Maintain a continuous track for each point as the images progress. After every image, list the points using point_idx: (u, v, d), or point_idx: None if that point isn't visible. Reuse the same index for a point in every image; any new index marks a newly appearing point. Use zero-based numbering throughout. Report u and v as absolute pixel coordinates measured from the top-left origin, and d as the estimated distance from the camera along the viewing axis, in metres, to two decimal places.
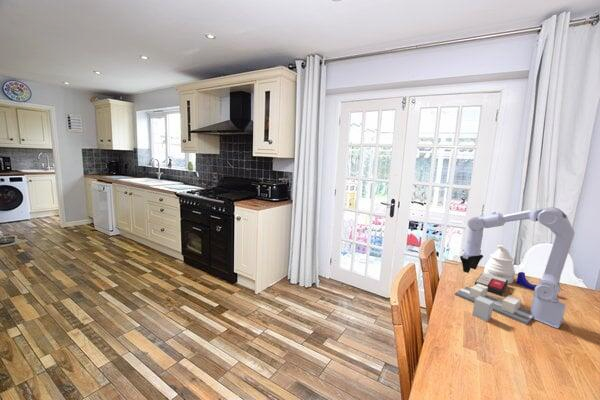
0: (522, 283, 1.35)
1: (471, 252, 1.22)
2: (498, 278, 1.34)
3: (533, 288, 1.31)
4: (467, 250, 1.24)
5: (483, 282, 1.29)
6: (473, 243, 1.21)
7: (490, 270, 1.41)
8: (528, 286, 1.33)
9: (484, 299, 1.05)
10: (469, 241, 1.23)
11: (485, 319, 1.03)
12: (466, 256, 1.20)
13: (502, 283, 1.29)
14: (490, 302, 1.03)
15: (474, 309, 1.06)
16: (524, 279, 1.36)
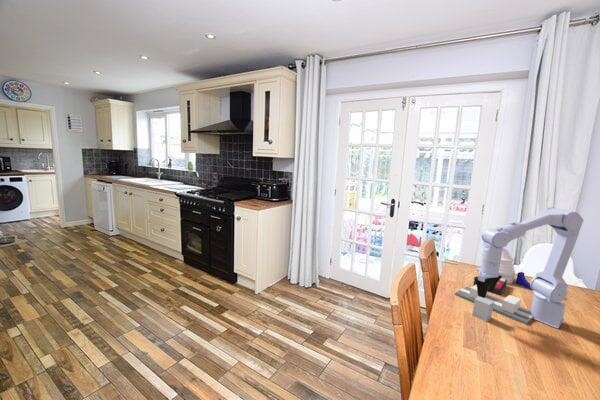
0: (522, 283, 1.35)
1: (488, 273, 1.01)
2: None
3: None
4: (483, 270, 1.02)
5: None
6: (490, 262, 1.00)
7: None
8: (528, 286, 1.33)
9: (484, 299, 1.05)
10: (493, 262, 1.00)
11: (485, 319, 1.03)
12: (482, 278, 0.98)
13: (501, 283, 1.29)
14: (490, 302, 1.03)
15: (474, 309, 1.06)
16: (524, 279, 1.36)
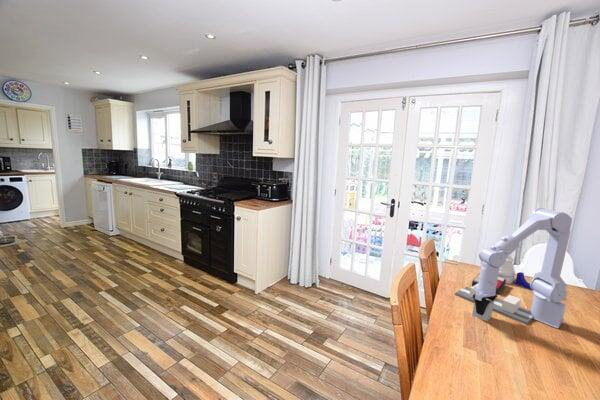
0: (521, 283, 1.35)
1: (485, 292, 1.02)
2: None
3: None
4: (480, 289, 1.03)
5: None
6: (487, 281, 1.01)
7: None
8: (527, 286, 1.33)
9: None
10: (490, 281, 1.01)
11: (485, 319, 1.03)
12: (479, 297, 1.00)
13: (500, 282, 1.30)
14: (490, 302, 1.03)
15: (474, 309, 1.06)
16: (523, 279, 1.35)
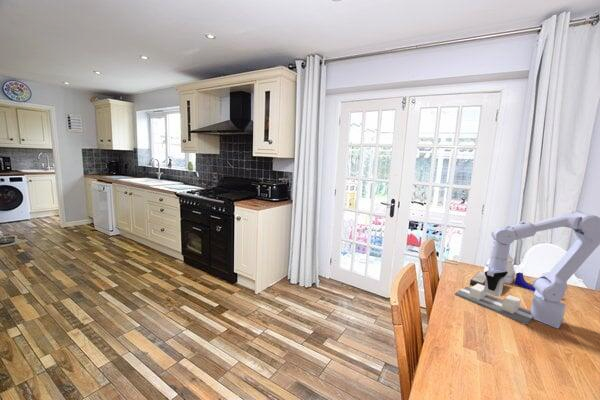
0: (520, 284, 1.35)
1: (496, 268, 1.08)
2: None
3: (532, 289, 1.31)
4: (491, 266, 1.09)
5: (478, 280, 1.32)
6: (499, 258, 1.07)
7: None
8: (526, 287, 1.32)
9: None
10: (498, 257, 1.07)
11: (496, 294, 1.09)
12: (491, 273, 1.05)
13: None
14: (501, 278, 1.09)
15: (485, 285, 1.11)
16: (522, 280, 1.35)
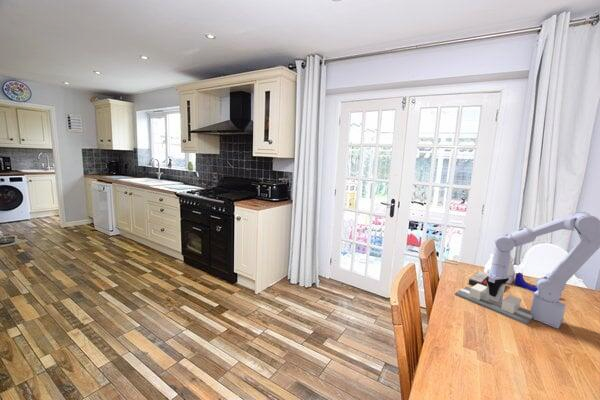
0: (520, 284, 1.34)
1: (497, 275, 1.11)
2: None
3: (531, 289, 1.30)
4: (493, 272, 1.13)
5: (477, 279, 1.32)
6: (500, 265, 1.10)
7: None
8: (526, 287, 1.32)
9: None
10: (497, 263, 1.11)
11: (497, 300, 1.12)
12: (492, 280, 1.09)
13: None
14: (502, 284, 1.13)
15: (487, 291, 1.15)
16: (522, 280, 1.35)
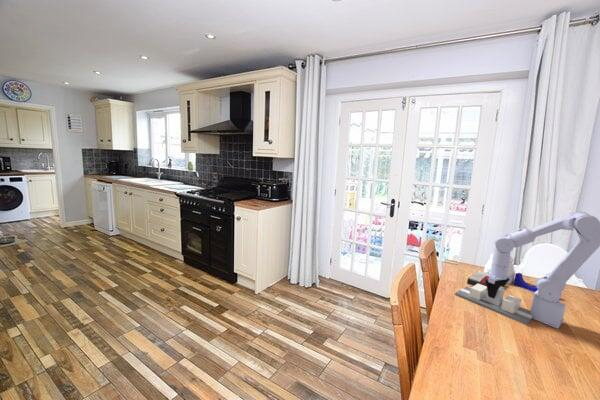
0: (520, 284, 1.34)
1: (497, 276, 1.11)
2: None
3: (531, 289, 1.30)
4: (492, 273, 1.13)
5: (476, 279, 1.33)
6: (500, 266, 1.10)
7: (490, 270, 1.41)
8: (526, 287, 1.32)
9: None
10: (497, 264, 1.11)
11: (497, 303, 1.12)
12: (492, 281, 1.09)
13: None
14: (501, 288, 1.13)
15: (486, 295, 1.15)
16: (522, 280, 1.34)
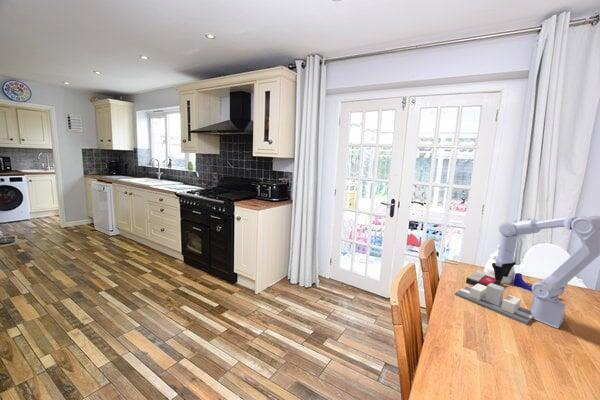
0: (519, 284, 1.34)
1: (504, 259, 1.16)
2: (491, 275, 1.37)
3: (530, 289, 1.30)
4: (499, 257, 1.18)
5: (474, 278, 1.34)
6: (506, 250, 1.16)
7: (490, 270, 1.41)
8: (525, 287, 1.32)
9: (495, 286, 1.15)
10: (500, 247, 1.18)
11: (497, 303, 1.12)
12: (500, 264, 1.14)
13: (494, 280, 1.32)
14: (501, 288, 1.13)
15: (486, 295, 1.15)
16: (521, 280, 1.34)
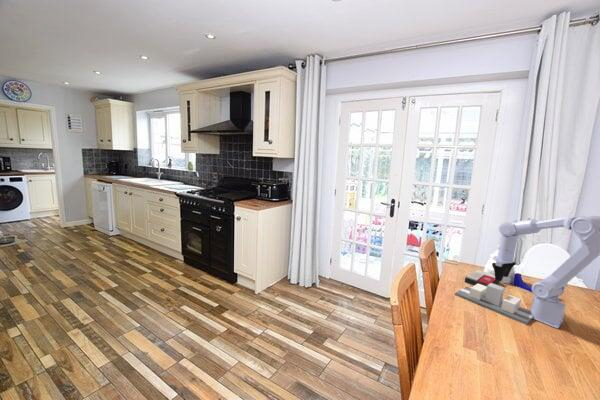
0: (519, 284, 1.34)
1: (504, 259, 1.17)
2: (490, 275, 1.38)
3: (530, 289, 1.29)
4: (499, 257, 1.18)
5: (473, 277, 1.34)
6: (506, 250, 1.16)
7: (490, 270, 1.41)
8: (525, 287, 1.31)
9: (495, 286, 1.15)
10: (500, 247, 1.18)
11: (497, 303, 1.12)
12: (500, 264, 1.14)
13: (492, 279, 1.33)
14: (501, 288, 1.13)
15: (486, 295, 1.15)
16: (520, 280, 1.34)
